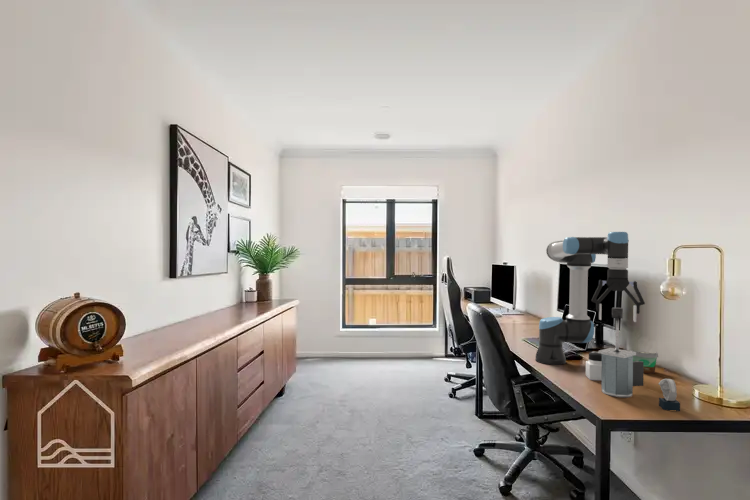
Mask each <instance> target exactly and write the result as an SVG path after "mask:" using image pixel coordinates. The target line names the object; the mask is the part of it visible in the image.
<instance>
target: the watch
mask: <svg viewBox="0 0 750 500" xmlns="http://www.w3.org/2000/svg"><path fill="white" fill-rule="evenodd" d="M658 385H659V386H660V387H659V388H660V390H661V391H662V396H663V398H662V397H658V407H659V408H660V409H662V410H663V411H670V410H676V411H675V412H681V402H680V401H679V400H677V395H678V393H677V385H676V382H675V380H674V379H673V378H672V379H671V378H662V379H661V380H660V381H659V382H658Z"/></svg>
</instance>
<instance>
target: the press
mask: <svg viewBox="0 0 750 500" xmlns="http://www.w3.org/2000/svg"><path fill="white" fill-rule="evenodd" d="M615 348H616V347H608V348H603V349H600V350H598V351H597V352H598V353H600V354H602V381H601V386H600V387H601V392H602V393H603V394H605V395H607V396H609V397H614V398H622V399H627V398H632V397H633V392H634V391H633V388H634V387H643V386H644V374H645V373H644V362H642V361H633V355H636V352H637V351H635V352H632V351H633V350H632V351H631V350H626V349H620V348H619V352H615Z"/></svg>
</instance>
